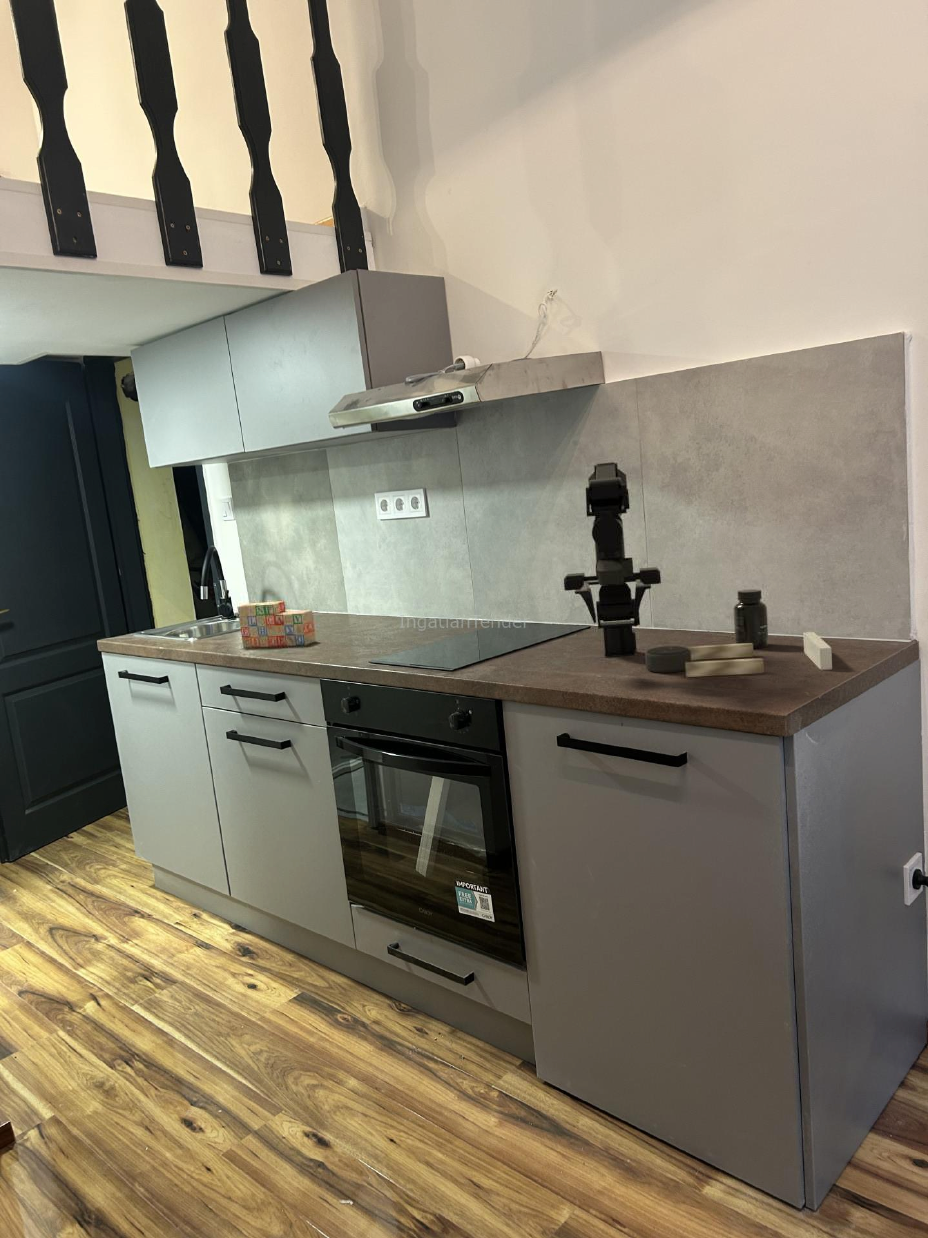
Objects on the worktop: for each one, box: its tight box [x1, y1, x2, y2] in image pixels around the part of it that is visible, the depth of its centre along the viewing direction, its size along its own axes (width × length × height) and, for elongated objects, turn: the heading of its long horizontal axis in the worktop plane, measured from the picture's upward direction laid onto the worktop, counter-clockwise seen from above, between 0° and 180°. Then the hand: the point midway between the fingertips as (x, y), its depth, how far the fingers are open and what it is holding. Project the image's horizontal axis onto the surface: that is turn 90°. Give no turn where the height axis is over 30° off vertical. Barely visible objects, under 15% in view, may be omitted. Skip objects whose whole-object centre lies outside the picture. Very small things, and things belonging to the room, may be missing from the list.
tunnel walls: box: [684, 643, 765, 678], centre depth 178 cm, size 14×17×2 cm
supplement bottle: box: [733, 589, 769, 650], centre depth 193 cm, size 7×7×12 cm
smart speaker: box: [644, 645, 692, 674], centre depth 180 cm, size 9×9×4 cm
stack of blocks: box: [237, 600, 317, 648], centre depth 261 cm, size 21×6×12 cm, turn 68°
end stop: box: [802, 631, 833, 671], centre depth 174 cm, size 2×17×4 cm, turn 169°
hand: (615, 621), depth 181 cm, fingers open, 8 cm apart
